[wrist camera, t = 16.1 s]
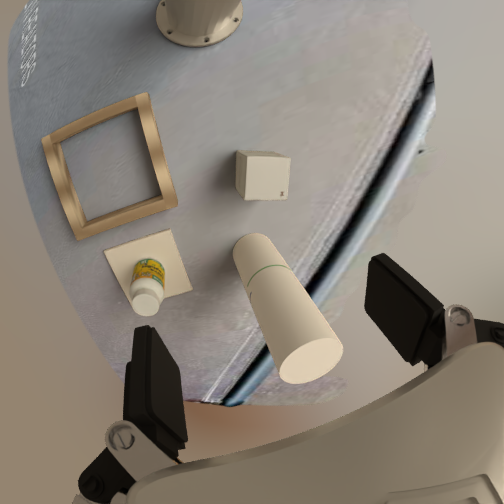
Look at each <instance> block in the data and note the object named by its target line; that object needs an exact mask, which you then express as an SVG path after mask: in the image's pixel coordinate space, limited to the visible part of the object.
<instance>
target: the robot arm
mask: <svg viewBox="0 0 504 504" xmlns="http://www.w3.org/2000/svg"><path fill="white" fill-rule="evenodd" d="M163 5H165V6H163ZM242 16H243V6H242V2H241V0H161V1H160V3H159V5H158V7H157V11H156V22H157V25H158V27H159V29H160V31H161V32H162V34H163V35H164V36H165V37H166V38H168V39H169V40H170V41H172V42H174V43H176V44H180V45H183V46H189V47H203V46H209V45H213V44H216V43H218V42H221V41H223V40H225V39H226V38H227V37H229V36H230V35H231V34H232V33H233V32H234V31H235V30H236V29H237V27H238V26H239V24H240V22H241V20H242ZM234 21H236V22H234ZM170 32H171V33H172V34H168V33H170ZM205 40H207V41H208V42H204V41H205ZM443 306H444V305H443V304H442V303H441V302H440V301H439V300H437V298H435V297H434V296H433V295H432V294H431V293H430V292H429V291H428V290H427V289H425V288H424V287H423V286H422V285H421V284H420V283H419V282H418V281H417V280H416V279H414V278H413V277H412V276H411V275H410V274H409V273H407V272H406V271H405V270H404V269H403V268H402V267H400V266H399V265H398V264H397V263H396V262H394V261H393V260H392V259H391V258H390V257H389V256H387V255H386V254H385V253H381V254H379V255H376V256H373V257H372V258H371V261H369V264H368V276H367V287H366V296H365V305H364V307H365V311H366V313H367V314H368V315H369V316H370V318H371V319H372V320H373V321H374V322H375V323H376V325H377V326H378V327H379V329H380V330H381V331H382V332H383V334H384V335H385V336H386V337H387V338H388V340H389V341H390V342H391V344H392V345H393V346H394V347H395V349H396V350H397V351H398V353H399V354H400V355H401V356H402V358H403V359H404V360H405V361H406V362H409V363H410V364H411V365H412V366H414V365H415V364H417V363H419V362H420V361H421V360H422V361H423V362H424V373H422V374H421V375H419V376H418V377H416V378H414V379H413V380H411V381H409V382H408V383H406V384H404V385H403V386H401V387H400V388H397V389H396V390H394V391H392V392H390V393H389V394H387V395H385V396H383V397H381V398H379V399H377V400H376V401H373V402H372V403H370V404H368V405H366V406H364V407H362V408H360V409H357V410H355V411H353V412H351V413H349V414H347V415H345V416H342V417H340V418H338V419H335V420H333V421H331V422H328V423H326V424H324V425H321V426H318V427H316V428H313V429H310V430H308V431H305V432H302V433H300V434H297V435H294V436H291V437H288V438H285V439H282V440H279V441H276V442H272V443H269V444H266V445H262V446H258V447H255V448H251V449H247V450H243V451H239V452H235V453H231V454H226V455H222V456H217V457H212V458H207V459H202V460H197V461H192V462H187V463H183V462H182V461H181V460H180V459H179V458H177V457H178V450H180V449H185V443H184V442H187V441H188V436H187V429H186V421H185V414H184V405H183V396H182V387H181V376H180V370H179V367H178V365H177V364H176V362H175V361H174V359H173V358H172V356H171V354H170V353H169V351H168V349H167V348H166V346H165V344H164V343H163V341H162V339H161V338H160V336H159V334H158V333H157V331H156V329H155V328H154V327H152V328H151V327H150V326H149V325H145V326H141V327H137V328H135V330H134V338H133V348H132V359H131V362H128V363H127V365H126V373H125V387H124V406H123V420H121V421H118V422H115V423H113V424H112V425H111V426H110V427H109V428H108V429H107V432H106V435H105V442H106V446H107V447H106V448H105V449H104V450H103V451H102V453H101V454H100V455H99V456H98V457H97V458H96V459H95V460H94V461H93V462H92V463H91V464H90V465H89V466H88V467H87V468H86V469H85V470H84V471H83V472H82V474H81V475H80V477H79V480H78V486H79V490H80V495H77V494H76V496H75V498H74V501H73V502H72V504H504V324H503V323H500V322H493V321H486V320H480V319H474V318H473V315H472V313H471V312H470V310H469V309H467V308H466V307H464V306H462V305H451V306H449V307H448V308H447V309H446V310H445V309H444V308H443Z"/></svg>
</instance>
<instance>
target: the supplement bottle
mask: <svg viewBox="0 0 504 504" xmlns="http://www.w3.org/2000/svg"><path fill="white" fill-rule="evenodd" d="M164 287H165V269H164V266H163V265H162V263H161V262H160V261H158V260H157V259H155V258H150V257H149V258H143V259H141V260H139V261H138V262H137V263H136V265H135V267H134V271H133V275H132V280H131V285H130V290H129V295H130V298H131V300H132V308H133V310H134V311H135V312H136V313H138V314H139V315H142V316H152V315H154V314H156V313H157V311H158V310H159V305H160V304H161V302H162V301H163V298H164Z"/></svg>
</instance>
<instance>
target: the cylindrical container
mask: <svg viewBox="0 0 504 504" xmlns="http://www.w3.org/2000/svg"><path fill="white" fill-rule="evenodd" d="M233 259H234V262H235V264H236V267H237V269H238V272H239V275H240V277H241V280H242V282H243V285H244V288H245V290H246V293H247V295H248V298H249V300H250V303H251V305H252V308H253V310H254V313H255V315H256V318H257V321H258V323H259V326H260V328H261V331H262V333H263V336H264V338H265V340H266V343H267V345H268V348H269V350H270V353H271V355H272V358H273V360H274V363H275V365H276V367H277V370H278V372H279V375H280V377H281V378H282V380H284V381H285V382H288V383H292V384H301V383H306V382H309V381H312V380H315V379H317V378H319V377H321V376H323V375H324V374H325V373H327V372H328V371H330V370H331V369H332V368H333V367H334V366H335V365H336V364H337V363H338V361H339V360H340V358H341V356H342V353H343V346H342V343H341V342H340V340H339V339H338V338H337V336H336V335H335V333H334V332H333V330H332V329H331V327H330V326H329V324H328V323H327V321H326V320H325V318H324V317H323V315H322V314H321V312H320V311H319V309H318V308H317V307H316V305H315V304H314V302H313V301H312V299H311V298H310V296H309V295H308V294H307V292H306V291H305V289H304V288H303V286H302V285H301V283H300V282H299V281H298V279H297V278H296V276H295V275H294V273H293V272H292V271H291V269H290V268H289V266H288V265H287V263H286V262H285V261H284V259H283V258H282V256H281V255H280V254H279V252H278V251H277V249H276V248H275V247H274V245H273V244H272V242H271V241H270V240H269V238H267V237H266V236H265V235H262V234H259V233H252V234H248V235H245V236H243V237H242V238H241V239H239V240H238V242H237V243H236V244H235V246H234V249H233Z"/></svg>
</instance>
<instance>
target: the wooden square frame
mask: <svg viewBox="0 0 504 504" xmlns="http://www.w3.org/2000/svg"><path fill="white" fill-rule="evenodd" d="M135 109H138V111H139V115H140V119H141V123H142V126H143V130H144V134H145V138H146V141H147V145H148V149H149V152H150V156H151V159H152V163H153V166H154V169H155V173H156V176H157V179H158V183H159V186H160V189H161V192H162V195H160V196H157V197H154V198H151V199H148V200H145V201H142V202H139V203H136V204H133V205H130V206H127V207H125V208H122V209H119V210H116V211H114V212H111V213H108V214H106V215H103V216H100V217H98V218H95V219H93V220H90V221H88V222H87V220H86V217H85V215H84V212H83V210H82V207H81V205H80V202H79V199H78V197H77V194H76V191H75V188H74V186H73V183H72V180H71V177H70V174H69V171H68V168H67V164H66V161H65V158H64V155H63V151H62V148H61V144H60V142H61V141H63V140H65V139H67V138H69V137H71V136H73V135H75V134H77V133H80V132H82V131H84V130H86V129H88V128H90V127H93V126H95V125H97V124H99V123H102V122H104V121H107V120H109V119H111V118H114V117H117V116H119V115H122V114H124V113H127V112H130V111H132V110H135ZM41 141H42V144H43V148H44V152H45V155H46V159H47V162H48V165H49V168H50V172H51V175H52V178H53V181H54V184H55V186H56V189H57V192H58V195H59V198H60V200H61V203H62V205H63V208H64V211H65V213H66V216H67V218H68V220H69V223H70V225H71V228H72V230H73V232H74V234H75V237H76V239H77V241H79V240H82V239H84V238H87V237H90V236H92V235H95V234H98V233H100V232H103V231H106V230H108V229H111V228H114V227H117V226H119V225H122V224H125V223H128V222H131V221H134V220H137V219H140V218H143V217H146V216H149V215H152V214H155V213H158V212H161V211H164V210H167V209H170V208H173V207H177V206H178V199H177V196H176V193H175V189H174V186H173V183H172V179H171V176H170V172H169V169H168V165H167V162H166V158H165V155H164V151H163V147H162V144H161V140H160V136H159V132H158V129H157V125H156V121H155V117H154V113H153V109H152V105H151V100H150V96H149V94H148V93H147V92H145V93H142V94H139V95H136V96H133V97H130V98H128V99H125V100H122V101H120V102H117V103H115V104H112V105H110V106H107V107H105V108H102V109H100V110H98V111H95V112H93V113H91V114H89V115H86V116H84V117H82V118H80V119H78V120H76V121H74V122H72V123H70V124H68V125H66V126H64V127H62V128H60V129H58V130H56V131H55V132H53V133H51V134H49V135H47V136H46V137H44V138H42V139H41Z"/></svg>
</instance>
